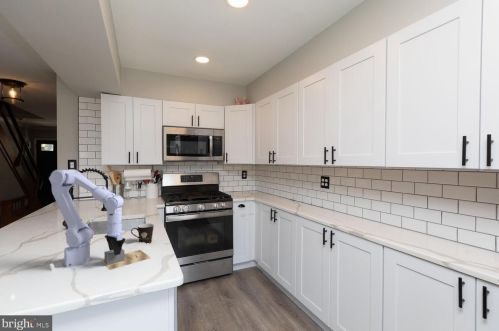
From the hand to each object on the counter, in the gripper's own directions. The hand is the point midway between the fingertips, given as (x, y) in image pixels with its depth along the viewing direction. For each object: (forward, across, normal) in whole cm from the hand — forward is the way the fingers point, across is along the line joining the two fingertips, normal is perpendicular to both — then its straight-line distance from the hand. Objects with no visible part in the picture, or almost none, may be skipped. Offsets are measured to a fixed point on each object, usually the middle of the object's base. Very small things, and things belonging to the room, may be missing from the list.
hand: (114, 252), depth 108 cm
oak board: (+6, 0, -5) cm, 8 cm away
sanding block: (+4, 0, 0) cm, 5 cm away
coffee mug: (+6, +21, -21) cm, 30 cm away
